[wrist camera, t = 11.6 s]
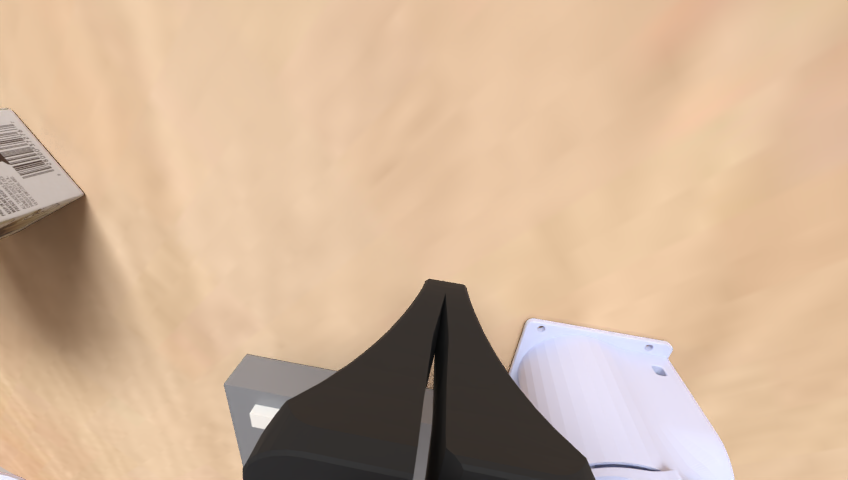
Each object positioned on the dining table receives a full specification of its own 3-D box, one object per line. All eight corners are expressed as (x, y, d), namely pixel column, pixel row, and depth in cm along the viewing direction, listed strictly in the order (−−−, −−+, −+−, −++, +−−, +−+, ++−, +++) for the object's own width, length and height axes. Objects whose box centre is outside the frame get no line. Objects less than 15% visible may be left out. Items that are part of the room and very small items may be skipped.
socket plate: (460, 394, 28) (458, 440, 24) (434, 498, 35) (430, 544, 32) (246, 354, 29) (216, 393, 25) (266, 463, 36) (245, 504, 33)
